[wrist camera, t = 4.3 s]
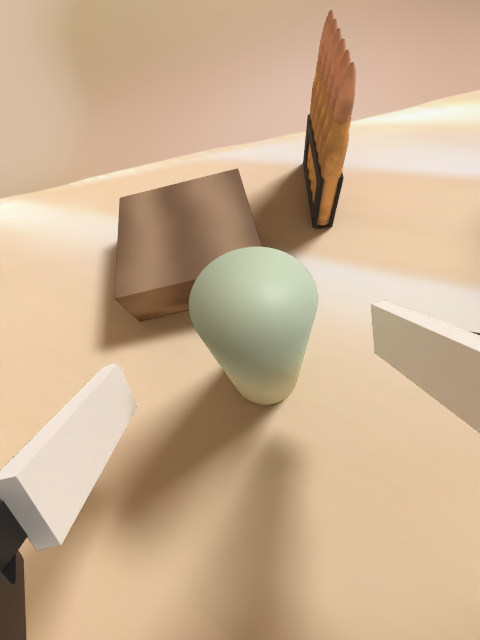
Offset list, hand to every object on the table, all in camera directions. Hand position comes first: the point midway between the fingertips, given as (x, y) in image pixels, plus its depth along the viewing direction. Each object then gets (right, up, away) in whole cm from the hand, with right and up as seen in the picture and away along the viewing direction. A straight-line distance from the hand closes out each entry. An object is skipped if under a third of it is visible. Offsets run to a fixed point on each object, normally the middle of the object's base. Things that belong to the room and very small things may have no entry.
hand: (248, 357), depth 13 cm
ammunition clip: (+8, +16, +15) cm, 23 cm away
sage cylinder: (+1, -2, +7) cm, 7 cm away
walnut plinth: (-5, +8, +13) cm, 16 cm away
